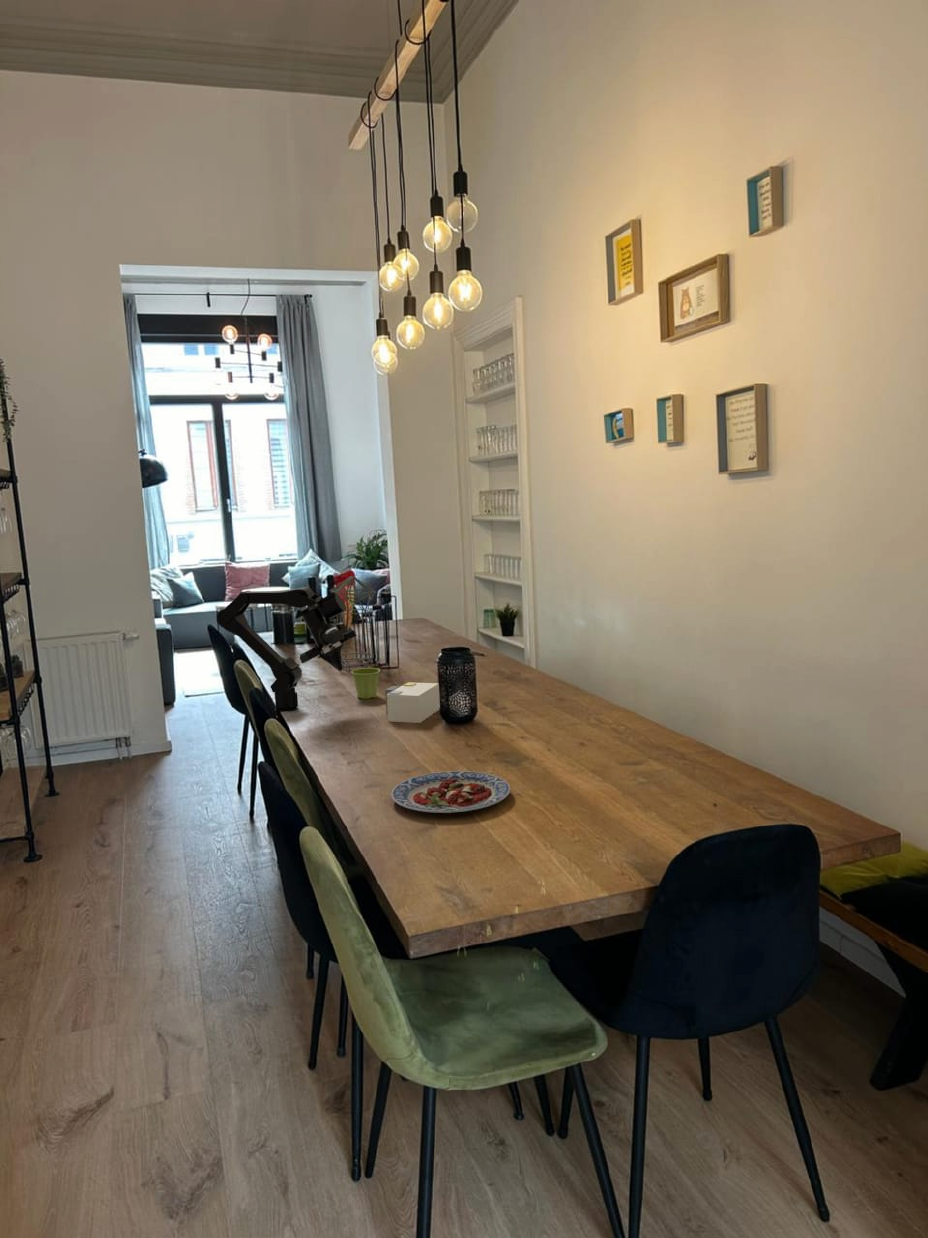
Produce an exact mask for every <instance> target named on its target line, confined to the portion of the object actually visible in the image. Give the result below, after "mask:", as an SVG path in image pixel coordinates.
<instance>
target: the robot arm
mask: <svg viewBox="0 0 928 1238" xmlns="http://www.w3.org/2000/svg"><path fill="white" fill-rule="evenodd" d="M344 601H345V600H344V599H343V598H342V596H341V595H339V594H338V593H336V592H332V593H331V592H330V593H329V594H328V595H327V596H324V597H322V596H320V595H319V594H317V593H314V591H313V589H311V588H310V587H308V586H303V587H296V588H292V589H288V590H265V591H264V590H263V591H262V590H261V591H260V590H258V591H257V590H256V591H255V590H253V591H251V590H244V591H241V592H240V593H239V594H238V595H237V596H236V597H235V598H234V599H233V600H232V601H231V602H230V603H229V604H227V606H225V608H223V609H221V610H219V611H217V614H216V623H217V624H218V625H219V627H221V628H223V629H224V630H225V631H226V632H229V633H231V634H234V635H235V636H237V637H238V638H240V639H241V641H243V643H245V644H246V645H247V646H248V648H250V649H251V650H252V651H253V652H254V653H255V654H256V655H257V656H258V657H259V658H260V659H261V660H262V661H263V662H264V663H265V664H266V665H267V666H268V667H269V668H270V671H271V673H272V675H273V677H274V679H275V680H274V681H273V682H272V683H271V684H270V686H269V687H270V689H271V692H272V693H274V702H275V703H274V704H275V709H274V711H275V712H282V710H283V711H284V710H286V711H296V710H298V707H299V700H298V692H297V691H296V687H297V685H298V682H299V681H301V679H302V676H303V671H302V669H301V667H300V666H301V665H300V664H299V663H298V662H296V661H295V660H294V658H293V657H292V656H289V657H287V658H285V657H282V656H281V655H280V654H279V653H278V652H277V651H276V650H275V649H274V648H273V647H272V646H270V644H269V643H267V641H265V640H264V639H263V638H262V637H261V636H260V635H259V634H258V633H257V632H256V631H255V630H254V629H253V628H252V627H251V626H250V625H249V622H248V620H247V617H246V616H245V615H244V614H245V612H246V611H247V610H248V609H249V607H250V605H280V604H281V605H286V606H289V607H292V608H298V609H297V610H296V611H297V612H296V615H295V619H296V620H298V619H299V618H300V619H301V618H302V619H303V621H304V623H305V624H306V627H307V628H308V631H309V633H308V634H309V637H312V638H313V640H314V642H315V645H314V647H312V648H310V649H308V650H306V651H304V652H302V653H300V654H299V661H300V662H301V664H305V663H307V662H308V661H311V660H313V659H315V658H316V657H317V659H322V660H324V661H325V662H326V663H328V664H330V665H331V666H332V667H333V668H335V670H337V671H338V672H341V671H342V670H343V668H342V662H341V657H342V655H341V654H342V647H343V646H344V641H346V642H347V641H348V640H351V639H352V638H354V637H356V636H357V633H356V631H355V630H354V629H353V628H349V629H348V628H347V626H346V624H345V625H344V623H343V622H342V623H340V622H338V624H337V623H336V625H335V627H334V626H332V625H331V623H330V622H329V623H328V622H327V621H326V618H327V619H328V620H331V619H333V618H334V617H337V615H338V616H339V615H340V613H343V612H344V611H345V612H347V611H346V610H347V609H346V607H347V605H346V602H345V603H344ZM315 605H317V606H316V607H314V606H315ZM305 607H306V608H305ZM302 608H304V609H302ZM345 612H344V613H345ZM284 712H285V711H284Z"/></svg>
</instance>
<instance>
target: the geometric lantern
mask: <svg viewBox="0 0 928 1238" xmlns="http://www.w3.org/2000/svg"><path fill="white" fill-rule="evenodd" d="M355 582H356V583H357V584H358V585H359V586H361V587H362V588H357V586H356V583H355ZM345 588H347V589H346V590H344V589H345ZM352 588H353V589H352ZM365 590H366V591H367V592H366V591H365ZM328 591H329V592H330V594H331V593H332V592H336V593H337V595H339V596H341V597H343V598H344V600H343V601H344V603H345V604H346V602H347V601H349V602H348V604H347V605H346V611H344V612H342V613H340V614H338V615H337V616H336V625H337V624H339V623H344V625H345V626H346V623H345V622H346V621H345V619H346V618H345V615H361V643H362V644H361V652H348V653H347V646H346V645H347V643H346V642H347V640H346V641H344V642H343V644H344V647H343V648H344V653H341V662H342V670H344V671H345V672H352V671H353V670H356V668H355V669H351V667H357V666H358V665H363V668H369V667H368V664H369V663H370V661H372V660H373V658H375V657H374V656H375V655H374V646H373V644H374V643H373V634H372V623H371V622H372V621H371V611H369V608H370V603H371V602H370V601H373V598H374V597H375V594H377V591H376V590H375V589H374V588H372V587H371V586H369V585H368V584H366V583H364V582H363V581H361V580H360V578H357V577H356V576H349V577H347V578H346V579H344V580H343V581H341V582H339V583H338V584H337V585H335V586H334V587H332V588H331V589H329V590H328ZM358 591H360V592H358ZM364 591H365V592H364ZM351 592H352V593H351ZM361 595H364V596H363V597H361V598H360V597H359V596H361ZM352 596H353V597H352ZM366 597H368V599H367V603H366V606H365V608H364V606H363V604H362V602H361V601H362V600H364V599H365V598H366ZM356 599H357V600H356ZM351 603H357V605H358V606H359V609H358V608H356V609H355V608H354V609H348V607H349V605H351ZM350 611H351V612H350ZM352 611H361V612H352ZM345 612H349V613H345ZM367 614H368V616H367ZM364 619H365V630H366V632H365V633H366V641H367V642H366V643H367V652H365V648H364V644H365V643H364ZM368 622H369V623H368ZM368 624H369V630H368ZM369 635H370V641H369ZM369 642H370V643H369ZM370 646H371V651H370ZM347 655H360V657H358V658H357V657H356V658H347ZM363 655H365V656H364V657H363ZM342 656H344V658H343V657H342ZM365 660H367V661H365ZM351 662H359V663H351ZM349 663H351V664H349ZM358 667H359V666H358Z"/></svg>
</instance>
